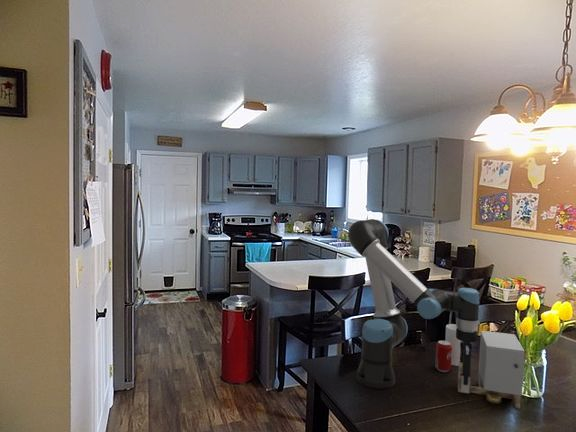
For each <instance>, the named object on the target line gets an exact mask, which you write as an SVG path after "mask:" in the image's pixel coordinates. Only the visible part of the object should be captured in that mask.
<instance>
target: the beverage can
mask: <svg viewBox="0 0 576 432" xmlns="http://www.w3.org/2000/svg"><path fill="white" fill-rule="evenodd" d="M435 345H436V346H435V362H434V363H435V366H434V367H435V368H436V369H437V371H439V372H441V373H449V371H451V370H452V365H451V358H452V346H451V343H450V342H448V341H445V340H438V341H437V343H436V344H435Z"/></svg>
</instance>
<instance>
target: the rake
mask: <svg viewBox="0 0 576 432" xmlns="http://www.w3.org/2000/svg"><path fill="white" fill-rule="evenodd" d="M462 366H463V363H460V362H459V366H458V372H457V373H458V374H457V375H458V376H457V377H458V378H457V392H458V393H462V394H463V393H464V392H461V379H462V376H461V375H460V374H462ZM471 373H472V368H471V369H470V375H472V374H471ZM488 392H494V393H497V394H499V395H501V397H502V398H503V399H509V400H512V403H513V406H514V409H519V410H520V409H521V399H520V395H515V394H509V393H503V392H496V391H490V390H484V388H482V387H479V386H474V385H471V376H470V381H469V393H468V394H469V395H470V394H471V393H473V394H478V395H484V396H486V394H487V393H488ZM464 394H465V393H464ZM502 398H501V399H502Z"/></svg>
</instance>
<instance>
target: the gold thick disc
mask: <svg viewBox="0 0 576 432" xmlns="http://www.w3.org/2000/svg"><path fill="white" fill-rule="evenodd" d="M485 398H486V401H488V402H490V403H492V404H501V403H502V397H501V395H499V394H497V393H494V392H488V393H487V394H486V395H485Z"/></svg>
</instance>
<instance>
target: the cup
mask: <svg viewBox="0 0 576 432" xmlns="http://www.w3.org/2000/svg"><path fill="white" fill-rule="evenodd" d="M456 329H457V327H456V324H454V323H451V324H450V323H449V324H446V326H445V340H444V341H448V342H450V343H451V346H452V358H451V366H455V367H456V366H458V367H459V362H460V342H461V341H460V340H458V339H457V338H456Z"/></svg>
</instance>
